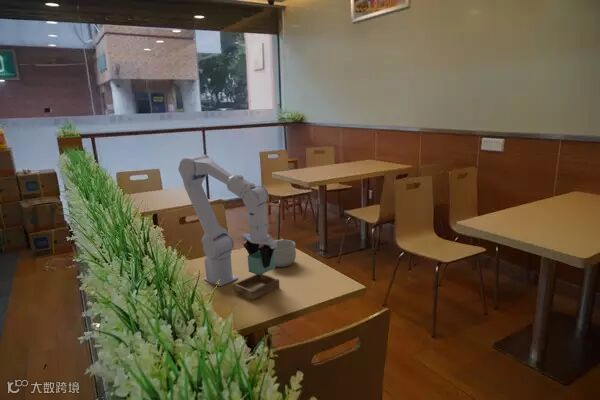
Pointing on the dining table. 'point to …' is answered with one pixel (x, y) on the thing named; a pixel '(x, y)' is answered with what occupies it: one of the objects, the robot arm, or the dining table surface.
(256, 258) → the teal crate
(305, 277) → the dining table surface
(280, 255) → the teacup
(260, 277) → the walnut crate
